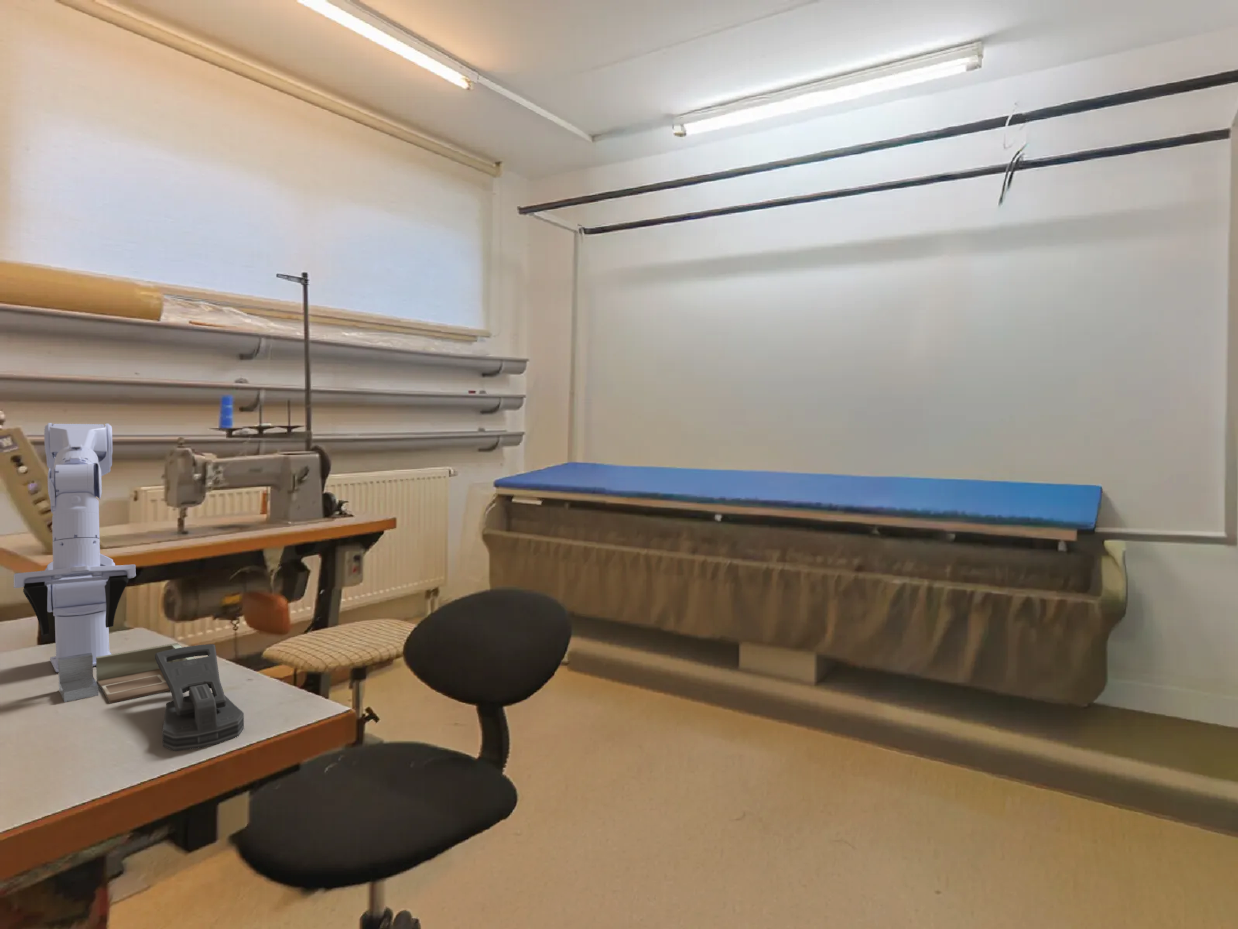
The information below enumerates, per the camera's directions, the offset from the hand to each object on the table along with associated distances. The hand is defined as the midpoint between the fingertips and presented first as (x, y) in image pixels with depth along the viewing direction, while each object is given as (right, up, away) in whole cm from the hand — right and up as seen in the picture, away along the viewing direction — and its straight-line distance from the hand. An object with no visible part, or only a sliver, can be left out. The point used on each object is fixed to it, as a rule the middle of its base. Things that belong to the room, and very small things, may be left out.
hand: (78, 630), depth 105 cm
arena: (+7, -9, +4) cm, 12 cm away
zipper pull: (+23, -10, -8) cm, 26 cm away
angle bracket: (0, -9, 0) cm, 9 cm away
